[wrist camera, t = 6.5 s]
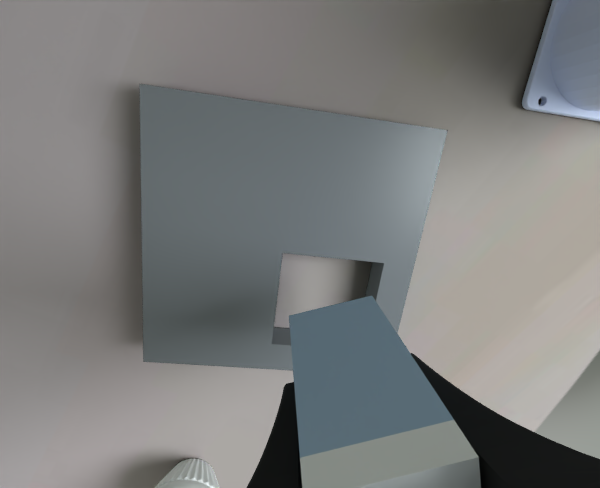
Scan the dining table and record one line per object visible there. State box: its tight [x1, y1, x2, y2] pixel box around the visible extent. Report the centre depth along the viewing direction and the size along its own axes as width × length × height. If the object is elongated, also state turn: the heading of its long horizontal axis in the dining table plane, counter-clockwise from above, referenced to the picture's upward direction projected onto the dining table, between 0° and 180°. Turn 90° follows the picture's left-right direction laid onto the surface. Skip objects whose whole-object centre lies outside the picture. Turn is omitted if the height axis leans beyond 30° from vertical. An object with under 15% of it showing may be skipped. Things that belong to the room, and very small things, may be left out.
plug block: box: [289, 296, 481, 488], centre depth 11 cm, size 4×4×8 cm
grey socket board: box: [140, 84, 448, 370], centre depth 19 cm, size 16×16×2 cm
